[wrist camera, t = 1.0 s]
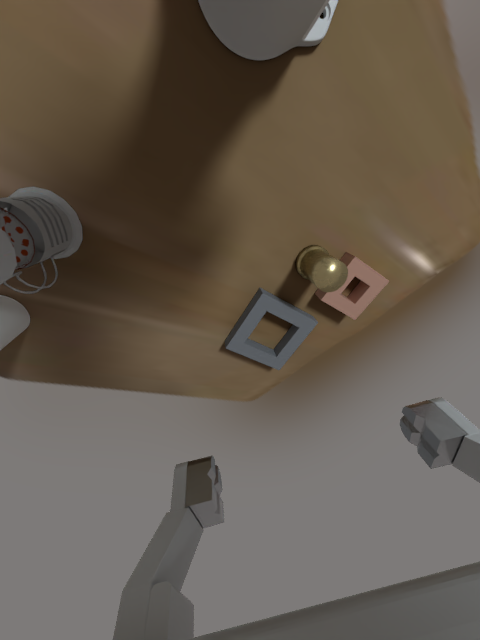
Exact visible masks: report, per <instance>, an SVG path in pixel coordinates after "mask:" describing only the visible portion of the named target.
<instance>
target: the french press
mask: <svg viewBox="0 0 480 640" xmlns="http://www.w3.org/2000/svg"><path fill="white" fill-rule="evenodd" d="M4 208H5V209H4ZM82 240H83V237H82V225H81V223H80V221H79V218H78V216H77V214H76V212H75V211H74V210H73V209H72V208H71V206H70V205H69V204H68V203H67V202H66V201H65V200H64V199H63V198H61V197H59V196H58V195H56V194H54V193H53V192H51V191H50V190H46V189H42V188H37V187H27V188H20V189H18V190H17V191H15V192H14V193H13V194H12V195H10V196H9V197H8V198H0V285H1V284H2V283H3V284H4V285H6V286H7V287H9V288H11V289H12V290H14V291H17V292H20V293H24V294H32V293H37V292H38V291H40V290H41V289H43V288H50V287H51V286H52V285H53V284H54V283H55V282H56V280H57V276H58V271H57V267H56V264H55V262H54V259H59V258H65V257H69V256H70V255H72V254H73V253H75V252H76V251H77V250H78V248H79V246H80V244H81V242H82ZM49 258H51V260H52V263H53V265H54V268H55V273H56V276H55V279H54V281H53V282H52V283H51V284H49V285H48V286H45V283H46V280H47V276H46V271H45V268H44V266H43V263H42V262H43V261H45V260H47V259H49ZM39 262H40V264H41V267H42V270H43V273H44V277H45V279H44V283H43V284H42V286H41V287H38V286H34V285H31V284H28V283H26V282H25V281H24V280H22V279H21V278H20V277H19V275H20V274H22V271H20V272H17V273H14V270H17V269H22V268H27V267H30V266H32V265H34V264H37V263H39ZM13 273H14V274H13ZM14 276H16V277H17V279H18V280H19V281H21V282H23V283H24V284H26V285H27V286H30V287H34V288H38V289H37V290H36V291H21V290H18V289H15V288H13V287H11V286H10V285H8V284H7V283H6V280H8V279H9V278H11V277H14Z"/></svg>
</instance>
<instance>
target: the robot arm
mask: <svg viewBox="0 0 480 640" xmlns="http://www.w3.org/2000/svg"><path fill="white" fill-rule="evenodd" d="M198 1H199V4H200V7H201V9H202V12H203V14H204V16H205V18H206V20H207V22H208V24H209V26H210V27H211V29H212V30H213V32H214V33H215V35H216V36H217V37H218V38H219V40H220V41H221V42H222V43H223V44H224V45H225V46H226V47H227V48H229V49H230V50H231V51H233V52H234V53H236V54H238V55H240V56H242V57H244V58H247V59H251V60H268V59H272V58H275V57H277V56H279V55H281V54H283V53H284V52H286V51H288V50H289V49H291V48H293V47H296V46H315V45H317V44H319V43H320V42H321V41H322V40H323V38H324V36H325V35H326V32H327V30H328V27H329V25H330V22H331V19H332V16H333V14H334V11H335V8H336V6H337V3H338V0H198ZM322 12H323V14H324V19H321V18H320V15H321V13H322ZM402 413H403V414H404V416H403V417H402V418H401V420H400V426H401V430H402V432H403V434H404V436H405V437H406V438H407V440H408V441H409V442H410V443H412V444H414V445H416V446H417V450H418V454H419V455H420V456H421V457H422V459H423V460H424V461H425V462H426V463H427V465H428V466H429V467H430V468H431V469H432V468H436V467H440V466H445V465H450V464H453V466H454V467H456V468H457V469H459V470H461V471H462V472H464V473H465V474H467V475H468V476H470V477H472V478H473V479H475V480H476V481H478V482H479V483H480V430H479V429H478V428H477V427H476V426H475V425H474V424H473V423H471V422H470V421H469V420H468V419H467V418H466V417H464V415H462V414H461V413H460V412H459V411H458V410H457V409H455V407H453V406H452V405H451V404H450V403H449V402H448V401H447V400H445V399H443V398H435V399H431V400H426V401H423V402H419V403H416V404H412V405H409V406H405V407H404V408H403V410H402ZM221 492H222V482H221V475H220V471H219V468H218V466H217V465H215V459H214V457H213V456H209V457H205V458H201V459H197V460H193V461H188V462H184V463H180V464H177V465H176V467H175V470H174V479H173V490H172V500H171V510H170V512H168V513H166V515H165V517H164V518H163V520H162V522H161V524H160V526H159V527H158V529H157V531H156V532H155V534H154V536H153V538H152V540H151V541H150V543H149V545H148V547H147V548H146V550H145V552H144V554H143V556H142V557H141V559H140V561H139V563H138V564H137V566H136V568H135V570H134V571H133V573H132V575H131V577H130V578H129V580H128V582H127V584H126V586H125V587H124V589H123V591H122V596H121V601H120V606H119V611H118V616H117V621H116V626H115V631H114V636H113V640H480V562H477V563H473V564H469V565H465V566H461V567H458V568H454V569H450V570H446V571H443V572H439V573H435V574H431V575H428V576H424V577H420V578H416V579H413V580H409V581H405V582H401V583H397V584H394V585H390V586H387V587H382V588H379V589H375V590H371V591H367V592H364V593H360V594H356V595H352V596H349V597H345V598H342V599H337V600H334V601H330V602H326V603H322V604H319V605H315V606H311V607H308V608H304V609H300V610H296V611H292V612H289V613H285V614H281V615H277V616H274V617H270V618H267V619H262V620H259V621H255V622H252V623H247V624H244V625H240V626H237V627H232V628H229V629H225V630H221V631H218V632H214V633H210V634H206V635H202V636H199V637H195V638H193V631H194V630H193V629H194V605H193V604H192V603H191V601H190V600H188V599H187V598H186V597H185V596H184V595H183V594H182V593H180V590H181V588H182V585H183V582H184V580H185V577H186V575H187V572H188V569H189V567H190V564H191V561H192V559H193V556H194V554H195V551H196V548H197V546H198V543H199V541H200V538H201V535H202V533H203V528H206V527H210V526H213V525H217V524H220V523H223V522H224V510H223V501H222V499H221V498H220V494H221Z"/></svg>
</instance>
